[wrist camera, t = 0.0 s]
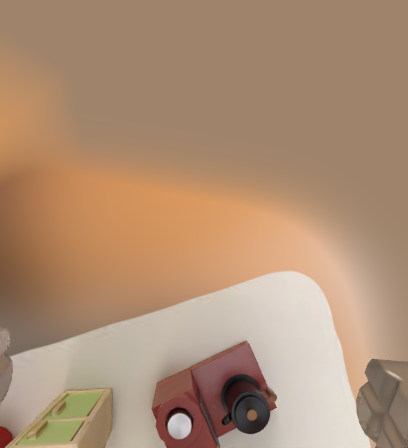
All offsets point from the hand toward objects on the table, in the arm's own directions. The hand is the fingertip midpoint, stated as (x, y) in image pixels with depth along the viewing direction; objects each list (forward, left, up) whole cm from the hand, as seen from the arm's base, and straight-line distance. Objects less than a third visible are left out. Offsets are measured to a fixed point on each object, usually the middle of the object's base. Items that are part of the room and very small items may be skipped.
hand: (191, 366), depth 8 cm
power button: (-15, +6, -41) cm, 44 cm away
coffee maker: (-18, +6, -54) cm, 57 cm away
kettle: (-19, -3, -52) cm, 55 cm away
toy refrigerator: (-11, +21, -55) cm, 59 cm away
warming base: (-18, -2, -54) cm, 57 cm away
